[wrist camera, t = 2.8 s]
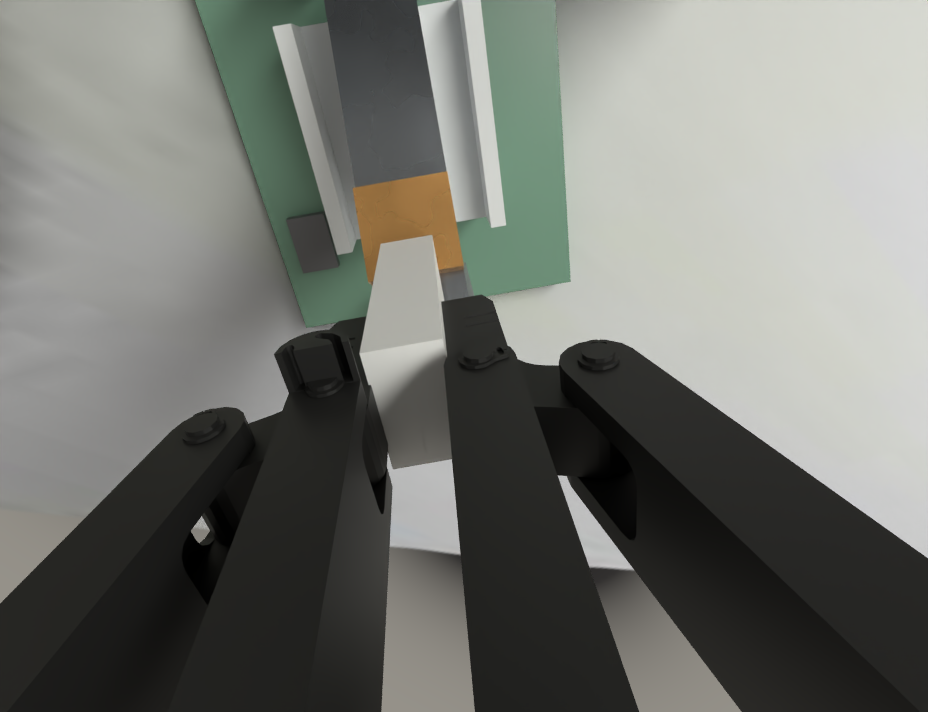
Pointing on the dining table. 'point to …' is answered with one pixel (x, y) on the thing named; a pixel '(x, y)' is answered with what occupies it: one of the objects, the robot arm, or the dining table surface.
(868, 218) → the dining table surface
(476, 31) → the board
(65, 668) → the robot arm
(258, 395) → the dining table surface
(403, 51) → the strap
